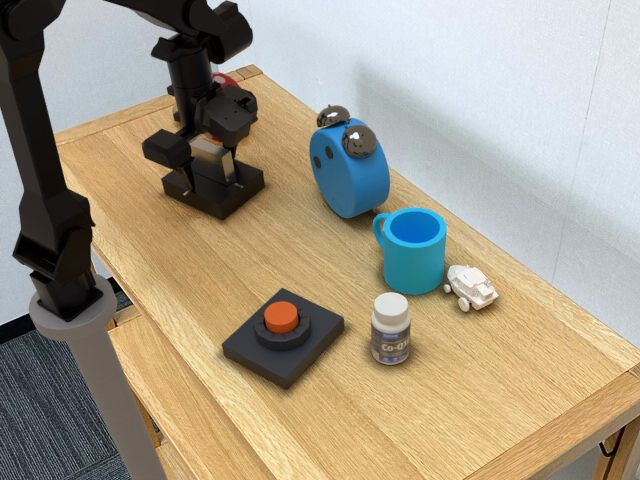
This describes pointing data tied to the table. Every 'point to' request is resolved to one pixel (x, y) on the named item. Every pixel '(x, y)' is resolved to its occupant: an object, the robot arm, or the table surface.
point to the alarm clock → (348, 163)
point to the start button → (281, 317)
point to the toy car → (470, 287)
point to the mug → (412, 249)
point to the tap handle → (212, 161)
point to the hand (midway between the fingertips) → (212, 174)
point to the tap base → (217, 190)
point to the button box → (284, 340)
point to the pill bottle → (390, 328)
